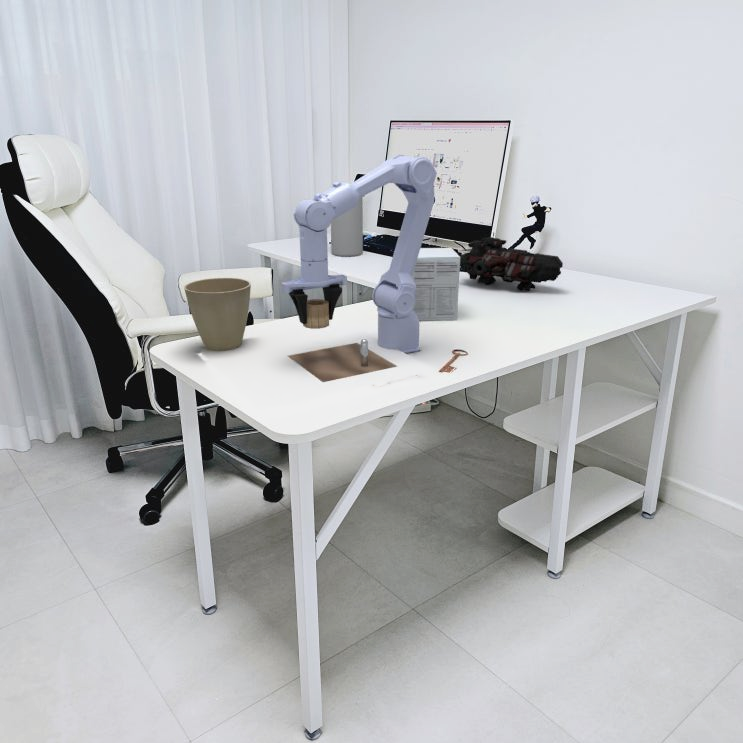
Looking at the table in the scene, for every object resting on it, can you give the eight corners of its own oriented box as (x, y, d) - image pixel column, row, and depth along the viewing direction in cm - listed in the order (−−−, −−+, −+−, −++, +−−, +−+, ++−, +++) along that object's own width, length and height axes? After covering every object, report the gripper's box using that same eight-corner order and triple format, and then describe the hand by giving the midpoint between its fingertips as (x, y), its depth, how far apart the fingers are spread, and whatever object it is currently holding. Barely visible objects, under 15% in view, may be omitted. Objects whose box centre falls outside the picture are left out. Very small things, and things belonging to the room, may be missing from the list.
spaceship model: (545, 302, 197) (550, 252, 191) (451, 285, 215) (453, 239, 210) (570, 289, 211) (575, 242, 206) (480, 275, 229) (482, 231, 224)
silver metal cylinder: (365, 363, 144) (365, 337, 142) (369, 365, 143) (369, 339, 140) (359, 364, 143) (359, 338, 141) (363, 367, 142) (362, 340, 140)
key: (456, 378, 142) (477, 356, 155) (457, 374, 142) (478, 352, 154) (431, 371, 144) (454, 350, 157) (432, 367, 144) (454, 347, 157)
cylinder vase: (350, 258, 255) (350, 191, 246) (325, 254, 261) (323, 189, 252) (368, 253, 265) (368, 188, 256) (343, 249, 271) (342, 187, 262)
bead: (322, 319, 147) (321, 297, 146) (333, 326, 143) (333, 303, 141) (299, 323, 145) (298, 301, 143) (310, 330, 140) (309, 307, 138)
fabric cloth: (357, 348, 158) (356, 342, 157) (397, 372, 143) (397, 366, 143) (287, 362, 149) (287, 355, 148) (323, 388, 135) (323, 382, 134)
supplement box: (458, 320, 179) (461, 256, 173) (409, 321, 178) (411, 257, 172) (449, 307, 191) (452, 247, 185) (404, 308, 190) (405, 247, 184)
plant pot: (264, 342, 162) (260, 278, 156) (239, 363, 148) (234, 294, 142) (208, 338, 165) (202, 275, 159) (179, 358, 151) (171, 290, 145)
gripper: (336, 252, 145) (337, 311, 150) (274, 259, 138) (278, 320, 143) (351, 257, 139) (352, 319, 144) (288, 265, 133) (291, 329, 138)
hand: (316, 320), depth 143 cm, fingers closed on bead, 6 cm apart
